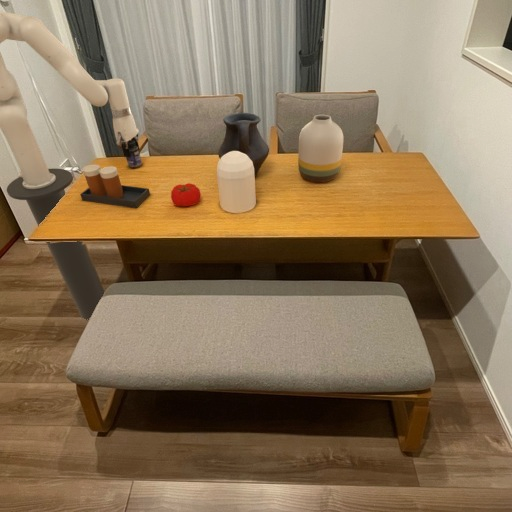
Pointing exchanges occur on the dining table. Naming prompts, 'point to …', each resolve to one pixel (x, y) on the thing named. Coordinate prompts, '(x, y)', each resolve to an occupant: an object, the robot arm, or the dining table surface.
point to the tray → (130, 198)
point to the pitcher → (244, 138)
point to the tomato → (185, 195)
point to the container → (236, 182)
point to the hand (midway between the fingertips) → (132, 153)
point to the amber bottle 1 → (94, 180)
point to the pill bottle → (133, 155)
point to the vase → (320, 149)
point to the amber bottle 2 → (111, 182)
